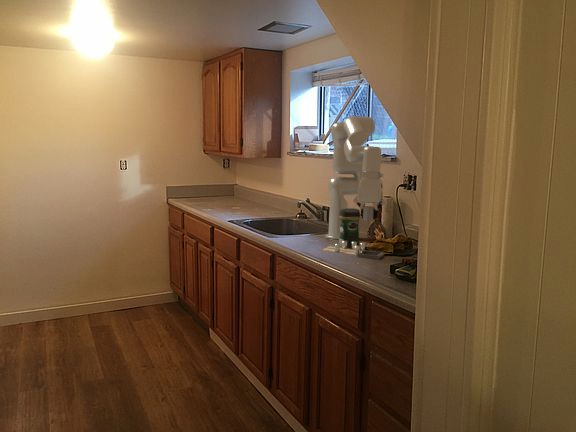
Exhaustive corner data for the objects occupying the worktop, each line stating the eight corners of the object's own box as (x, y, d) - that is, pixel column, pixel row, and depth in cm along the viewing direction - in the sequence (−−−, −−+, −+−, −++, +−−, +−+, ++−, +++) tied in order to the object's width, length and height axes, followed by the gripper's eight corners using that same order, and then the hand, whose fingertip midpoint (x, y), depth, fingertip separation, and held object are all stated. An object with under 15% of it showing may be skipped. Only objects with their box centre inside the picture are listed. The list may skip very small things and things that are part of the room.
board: (328, 247, 246) (328, 246, 246) (366, 251, 239) (366, 250, 239) (320, 251, 235) (320, 250, 235) (359, 256, 228) (359, 254, 228)
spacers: (341, 247, 243) (342, 240, 243) (365, 250, 239) (365, 242, 238) (334, 251, 233) (334, 244, 232) (358, 254, 228) (359, 246, 228)
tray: (362, 254, 232) (363, 250, 231) (383, 256, 228) (383, 252, 228) (357, 258, 223) (357, 253, 223) (378, 260, 220) (378, 256, 220)
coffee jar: (354, 245, 253) (355, 207, 250) (361, 248, 245) (363, 209, 243) (335, 246, 250) (337, 207, 247) (342, 249, 242) (344, 209, 240)
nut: (361, 219, 226) (362, 205, 225) (373, 220, 227) (373, 206, 226) (364, 221, 222) (364, 206, 221) (375, 221, 222) (376, 207, 222)
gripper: (392, 176, 222) (390, 219, 225) (354, 174, 229) (352, 216, 231) (388, 177, 216) (386, 221, 218) (349, 175, 222) (347, 218, 225)
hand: (369, 218), depth 225 cm, fingers closed on nut, 4 cm apart
